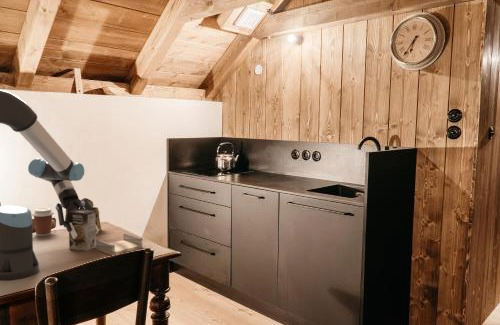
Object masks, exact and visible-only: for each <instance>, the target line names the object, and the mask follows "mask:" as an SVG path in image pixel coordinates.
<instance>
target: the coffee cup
mask: <svg viewBox="0 0 500 325" xmlns="http://www.w3.org/2000/svg"><path fill="white" fill-rule="evenodd" d="M31 214H32V217H33V218H34V221H33V222H34V227H35V236H37V237H45V236H49V235H52V224H53V222H52V221H53V220H52V219H53V215H54V211H53V210H52V208H50V207H39V208H35V209H34V211H33V212H32V213H31Z"/></svg>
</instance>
